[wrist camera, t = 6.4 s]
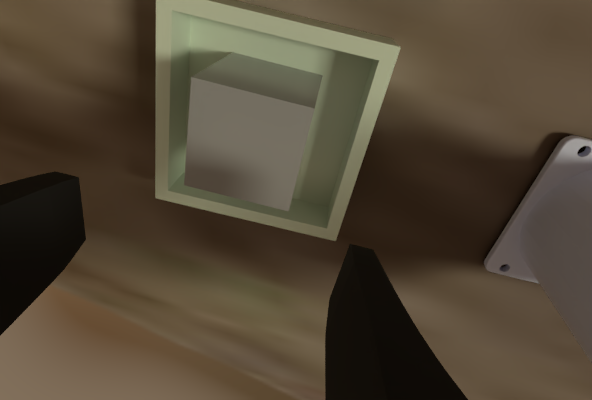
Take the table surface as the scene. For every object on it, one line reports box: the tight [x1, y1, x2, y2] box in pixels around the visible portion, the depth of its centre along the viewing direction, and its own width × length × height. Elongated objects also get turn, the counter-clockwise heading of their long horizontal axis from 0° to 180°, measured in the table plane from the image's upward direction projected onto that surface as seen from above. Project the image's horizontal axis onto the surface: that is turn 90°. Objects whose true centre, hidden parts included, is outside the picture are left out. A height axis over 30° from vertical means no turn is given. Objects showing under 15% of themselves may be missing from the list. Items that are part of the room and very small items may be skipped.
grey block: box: [184, 52, 323, 211], centre depth 15 cm, size 4×4×5 cm
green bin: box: [155, 0, 401, 241], centre depth 16 cm, size 9×9×2 cm
